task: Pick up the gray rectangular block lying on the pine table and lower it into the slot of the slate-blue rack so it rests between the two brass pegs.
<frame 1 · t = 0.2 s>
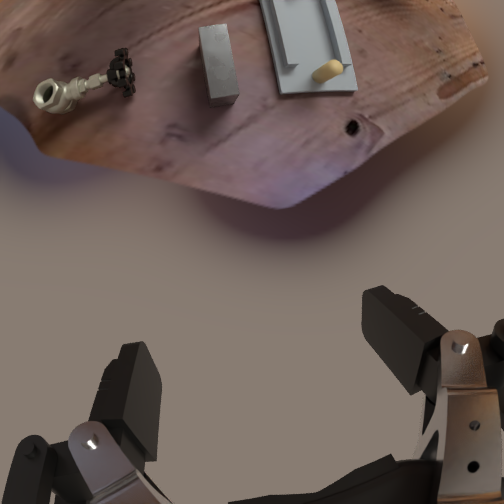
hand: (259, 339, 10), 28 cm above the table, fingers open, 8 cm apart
rack: (305, 28, 30), on the table
gray rectangular block: (216, 73, 31), on the table
valve: (93, 91, 29), on the table
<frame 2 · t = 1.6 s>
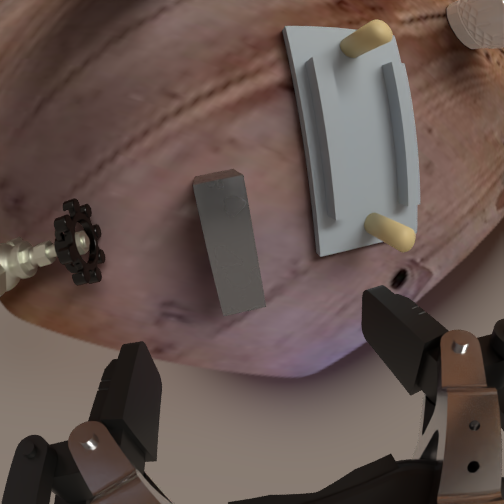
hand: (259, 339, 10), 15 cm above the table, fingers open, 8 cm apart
rack: (360, 134, 23), on the table
gray rectangular block: (224, 226, 24), on the table
white cup: (462, 26, 19), on the table
valve: (48, 244, 22), on the table
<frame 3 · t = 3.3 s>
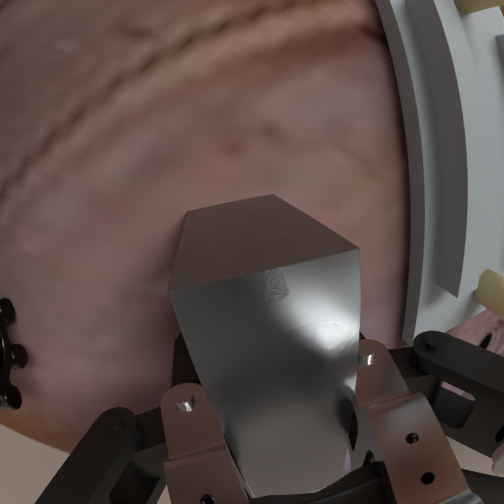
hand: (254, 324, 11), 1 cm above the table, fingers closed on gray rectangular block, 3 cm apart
rack: (478, 139, 11), on the table
gray rectangular block: (252, 314, 11), on the table, touching gripper
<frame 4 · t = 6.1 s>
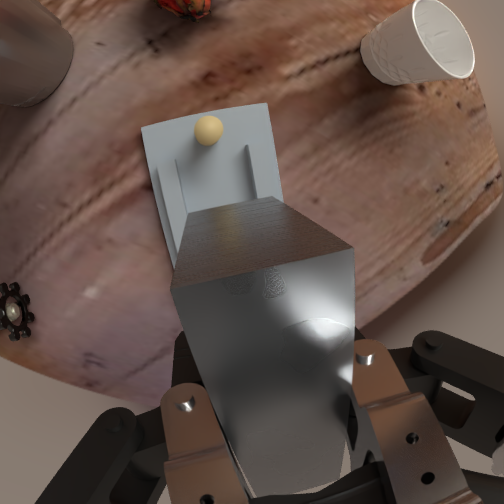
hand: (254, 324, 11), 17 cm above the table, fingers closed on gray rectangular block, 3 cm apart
rack: (224, 221, 27), on the table
gray rectangular block: (251, 314, 12), point 16 cm above the table, touching gripper
white cup: (384, 58, 24), on the table
valve: (2, 305, 25), on the table
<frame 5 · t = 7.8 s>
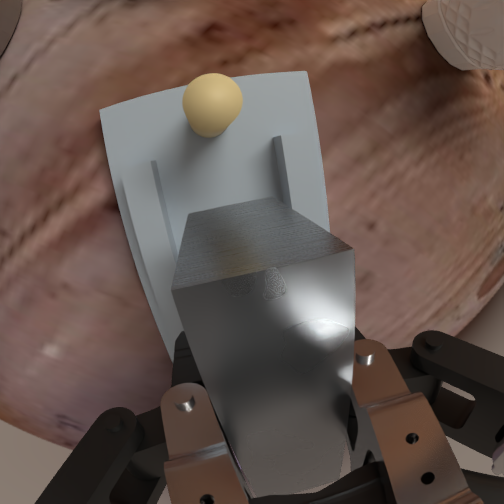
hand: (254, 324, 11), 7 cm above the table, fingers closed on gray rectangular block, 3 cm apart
rack: (235, 259, 17), on the table
gray rectangular block: (251, 314, 12), point 6 cm above the table, touching gripper
white cup: (448, 34, 14), on the table
when the fingers open (3 cm above the table, at t = 8.9 s): gray rectangular block stays where it is, resting on rack.
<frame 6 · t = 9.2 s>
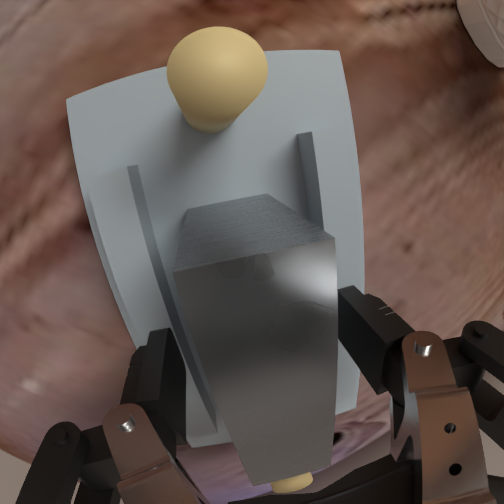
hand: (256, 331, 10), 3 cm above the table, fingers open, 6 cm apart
rack: (244, 293, 13), on the table
gray rectangular block: (247, 305, 12), point 1 cm above the table, touching rack
white cup: (482, 27, 10), on the table
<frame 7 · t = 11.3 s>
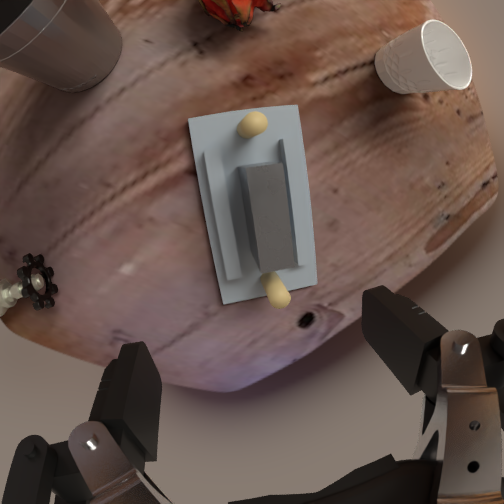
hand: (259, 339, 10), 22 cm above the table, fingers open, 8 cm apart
rack: (257, 205, 30), on the table
dragon fruit: (232, 1, 23), on the table
gray rectangular block: (258, 207, 29), point 1 cm above the table, touching rack
white cup: (394, 70, 27), on the table
valve: (23, 282, 29), on the table
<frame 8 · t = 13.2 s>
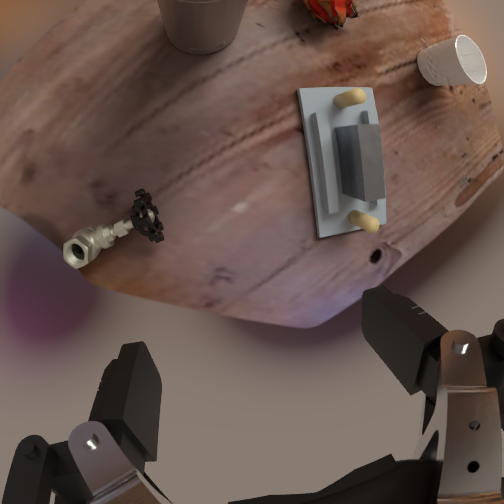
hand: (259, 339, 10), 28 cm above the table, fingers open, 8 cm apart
rack: (345, 159, 37), on the table
dragon fruit: (320, 5, 29), on the table
gray rectangular block: (348, 159, 36), point 1 cm above the table, touching rack
white cup: (430, 67, 34), on the table
valve: (117, 226, 35), on the table
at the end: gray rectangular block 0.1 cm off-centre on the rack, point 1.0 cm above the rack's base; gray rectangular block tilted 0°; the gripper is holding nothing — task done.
